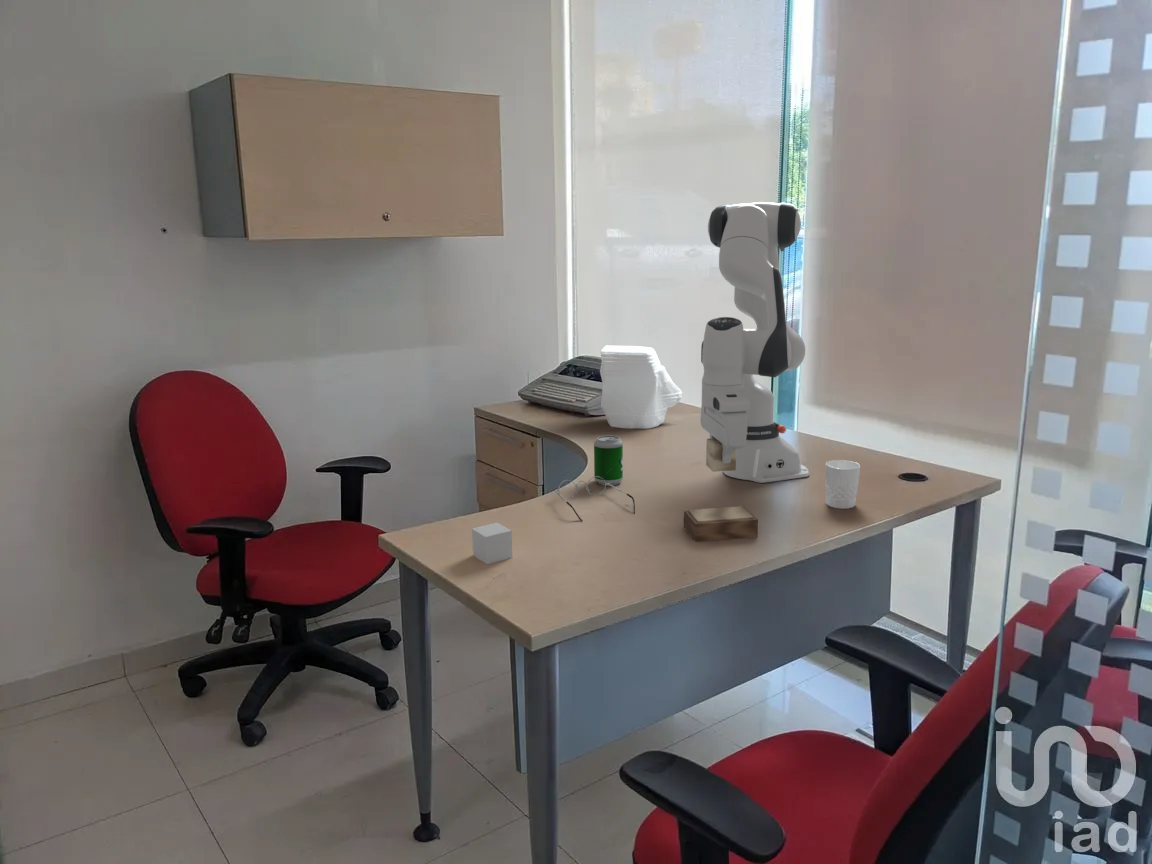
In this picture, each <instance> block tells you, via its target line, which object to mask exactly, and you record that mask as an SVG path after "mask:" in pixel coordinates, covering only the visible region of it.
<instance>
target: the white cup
mask: <svg viewBox="0 0 1152 864" xmlns="http://www.w3.org/2000/svg"><path fill="white" fill-rule="evenodd" d="M860 473H861V464H860V463H858V462H855V461H851V460H845V459H833V460H829V461H826V462H825V476H824V477H825V478H824V480H825V483H824V484H825V485H824V487H825V503H826V506H828V507H831V508H834V509H840V510H843V509H844V510H845V509H852V508H854V507H855V506H856V501H857V495H858V487H859V480H860Z"/></svg>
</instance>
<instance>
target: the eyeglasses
mask: <svg viewBox="0 0 1152 864" xmlns="http://www.w3.org/2000/svg"><path fill="white" fill-rule="evenodd" d="M595 477H599V476H595ZM600 478H601V477H600ZM593 479H594V476H593V477H591V478H590V479H589V480H588V482H586V481H584V480H579V481H578V482H577V483H575V482H574V481H573V480H570V479H564V480H563V481H561V482H560V484H559V486H558V488H557V489H555V490H554V491H555V493H556V494H557V495H558V496H559V497H560V498H561V499H562V500H563V501H565V502H566V505H568V506H570V508H571V509H572V510H573V512H574V514H575V515H576V517H577V518H578V520H579V521H580V522H581V523H583V522H584V520H583V519H582V518H581V517H580V516H579V514H578V513H577V511H576V509H575V508H574V507H573V505H572V504H571V503H569V501H567V500H566V499H565V497H563V496H562V495H561V493H560V488H561V485H562V484H563V483H564V482H567V481H569V482H572V484H574V493H573V494H572V496H571V497H572V498H574V497H575V496H576V495H577V493H578V492H579V491H580V487H579V485H578V484H579V483H581V482H582V483H585V489H586V492H588V494H589V495H591V496H592V495H595V494H594V493H592V492H591V491H590V488H589V483H590V482H591V480H593ZM602 479H603V478H602ZM603 480H604V479H603ZM604 482H605V481H604ZM606 485H610V486H609V487H612V488H613V489H615V490H617V491H619V492H621V493H623V494H625V495H626V496H628V497H629V498H631V499H632V503H633V514H634V515H635V514H636V508H635V507H636V504H635V499H634V497H633V496H632V495H631V494H630V493H626V492H624V490H621V489H619V488H618V487H616V485H611V484H609V483H605V485H604V489H603V490H602V491H601V492H600V493H599V495H601V494H603V493H604V491H605V490H606Z"/></svg>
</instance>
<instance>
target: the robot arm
mask: <svg viewBox="0 0 1152 864" xmlns="http://www.w3.org/2000/svg"><path fill="white" fill-rule="evenodd" d="M798 210H799V209H798V208H797V207H796V206H795V205H794V204H792V203H789V202H780V203H776V202H764V201H759V202H758V201H757V202H756V201H755V202H750V203H749V202H748V203H737V204H732V205H730V204H723V205H719V206H717V207H715V208H714V209H713V210H712V212H711V213H710V216H709V219H708V223H707V233H708V236H709V240H710V243H711V244H713V246H715V247H716V248H719V255H718V268H719V272H720V273H721V275H722V277H723V278H724V280H725V281H726V282H727V283H729V285H732V286H733V287H734V291H733V292H734V293H733V294H734V295H733V297H734V298H733V300H734V301H733V302H734V305H735V307H736V308H737V309H738V311H740V312H741V313H742V314H745V316H748V317H749V318H751V319H752V320H753V321H754V322H755V325H756V328H744V323H743V322H742V321H741V320H740V319H738V318H735V317H730V316H729V317H728V316H723V317H716V318H713V319H710V320H709V321H707V323H706V325H705V330H704V334H703V340H702V342H701V346H700V347H701V353H700V354H701V355H700V361H701V364H702V366H703V375H702V379H701V407H700V427H701V428H702V429H703V430H705V431H706V432H707V434H709V439H711V438H716V439H717V440H718V441H720V442H721V443H722V447H723V452H722V454H721V461H722V462H723V463H730V462H731V455H732V452H733V449H736V470H733V471H722V473H723V474H724V475H726V476H728V477H731V478H734V479H740V480H745V481H753V482H755V483H762V484H763V483H765V484H766V483H771V482H778V481H786V480H791V479H800V478H806V477H808V476H809V475H810V472H809V471H810V470H809V468H807V467H806V466H805V465H803V464H802V463H801V457H800V454H799V453H800V452H799V451H798V450H797V448H796V447H794V446H793V445H792V443H791V444H790V443H789V442H788V440H786V439H785V438H783V437H781V436H780V434H785V433H786V432H787V427H785V425H783V424H780V423H779V424H778V423H777V422H775V421H774V408H775V407H774V406H775V397H774V394H773V392H772V390H771V389H770V388H769V387H767V386H766V385H764V384H763V383H761V382H759V381H757V380H756V379H755V377H754V375H756V376H762V377H769V378H777V377H778V376H780V375H782V374H783V373H784V372H789V371H795V370H797V369H798V368H799V367H800V366H801V364H802V363H803V361H804V359H805V356H806V345H805V342H804V340H803V338H802V336H801V335H800V334H799V333H798V332H796V331H795V330H794V329H793V328H792V327H791V326H790V325H789V324H788V323H787V317H786V306H785V296H784V295H785V294H784V289H783V280H782V276H781V273H780V260H779V251H780V253H781V252H784V251H785V249H786V248H789V247H791V246H792V245H794V243H795V242H797V239H798V236H799V234H800V233H801V227H802V226H801V225H802V222H801V221H802V220H801V217H800V216H801V215H800V214H799V213H800V212H799V211H798ZM778 248H779V250H778Z"/></svg>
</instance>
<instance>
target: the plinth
mask: <svg viewBox="0 0 1152 864" xmlns="http://www.w3.org/2000/svg"><path fill="white" fill-rule="evenodd" d="M683 528H684V530H685V531H686V532H687V534H688V535H689V536H690V537H691V539H692V540H693V541H694V543H697V542H710V541H721V540H734V539H735V540H736V539H747V538H758V532H759V519H758V518H757V517H756V516H755V515H754V514H753V513H752V512H751V510H749V509H748V508H747V507H746V506H745V505H742V506H741V505H740V506H728V507H727V506H726V507H724V506H723V507H713V508H712V507H711V508H699V509H698V508H697V509H685V510H683Z"/></svg>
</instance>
